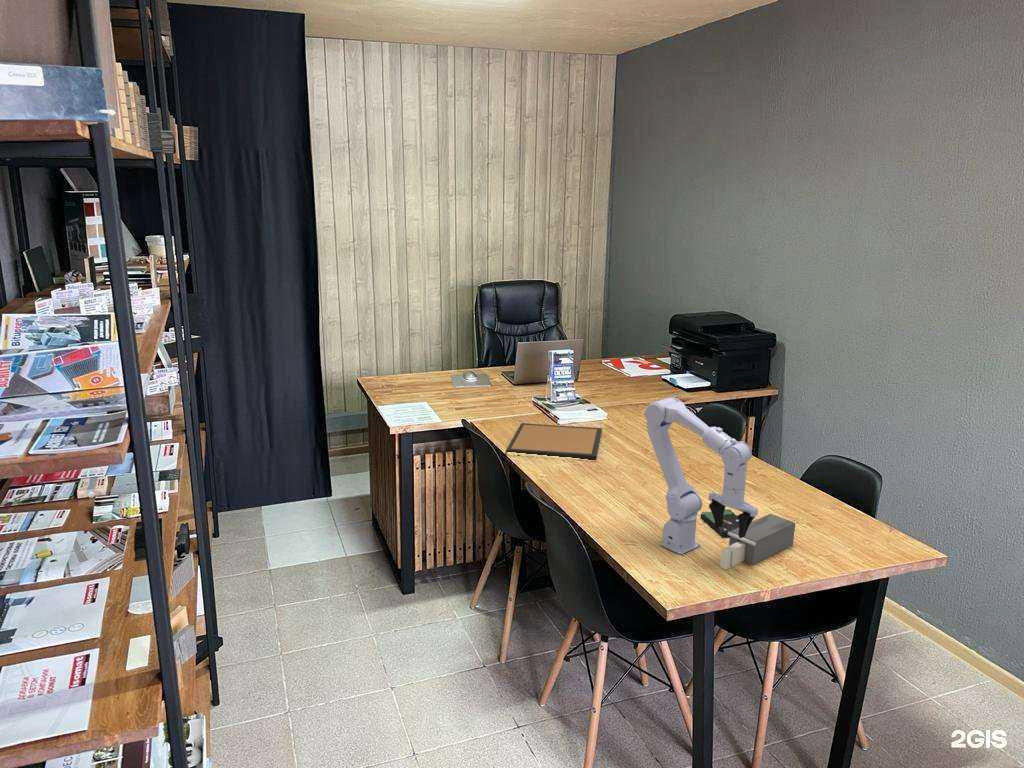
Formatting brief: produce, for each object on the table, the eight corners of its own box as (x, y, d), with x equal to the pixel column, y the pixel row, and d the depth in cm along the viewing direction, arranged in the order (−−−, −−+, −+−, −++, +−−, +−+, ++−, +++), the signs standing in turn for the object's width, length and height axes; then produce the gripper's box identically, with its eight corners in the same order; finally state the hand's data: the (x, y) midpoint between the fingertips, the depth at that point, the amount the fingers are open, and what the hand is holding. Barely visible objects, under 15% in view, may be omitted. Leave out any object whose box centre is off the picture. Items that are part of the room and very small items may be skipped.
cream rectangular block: (726, 570, 207) (727, 552, 205) (719, 567, 208) (721, 549, 207) (760, 553, 216) (761, 536, 215) (753, 551, 218) (755, 533, 217)
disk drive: (753, 537, 228) (728, 516, 242) (754, 528, 227) (729, 508, 241) (722, 540, 225) (699, 519, 239) (723, 531, 225) (700, 511, 239)
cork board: (506, 456, 295) (596, 462, 289) (506, 449, 294) (596, 455, 288) (521, 429, 329) (601, 434, 323) (521, 423, 328) (602, 428, 322)
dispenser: (751, 566, 209) (753, 542, 207) (725, 554, 215) (727, 531, 213) (793, 545, 221) (796, 523, 219) (767, 535, 228) (770, 513, 226)
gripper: (765, 490, 202) (761, 537, 205) (720, 475, 213) (717, 519, 216) (750, 497, 197) (746, 544, 201) (705, 480, 208) (702, 526, 212)
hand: (730, 531), depth 208 cm, fingers open, 7 cm apart
